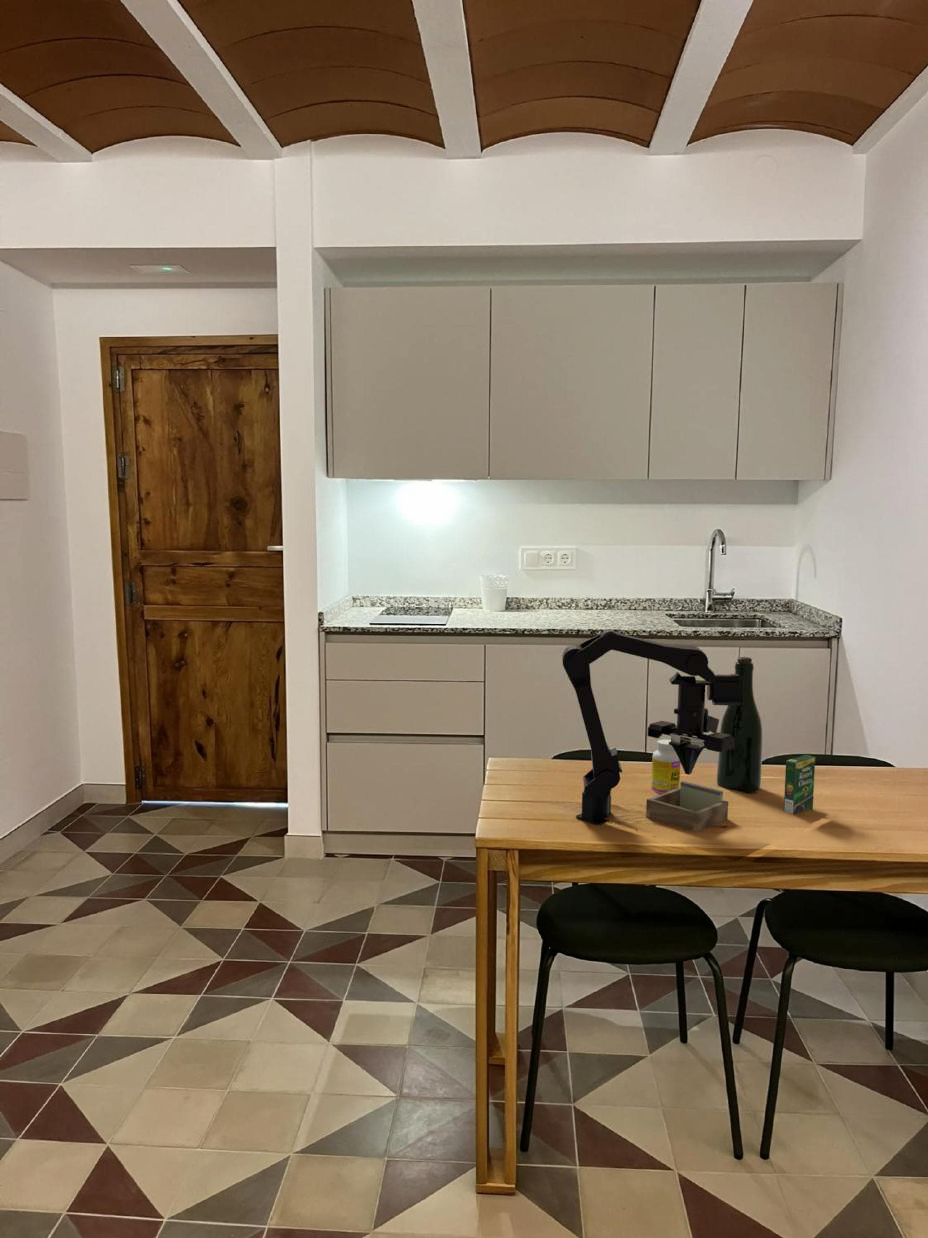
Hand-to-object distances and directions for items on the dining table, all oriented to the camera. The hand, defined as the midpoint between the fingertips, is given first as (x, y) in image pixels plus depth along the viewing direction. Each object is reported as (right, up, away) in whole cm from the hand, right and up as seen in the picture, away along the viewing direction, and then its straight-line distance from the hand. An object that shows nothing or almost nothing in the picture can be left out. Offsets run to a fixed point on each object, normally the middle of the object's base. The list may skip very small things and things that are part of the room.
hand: (688, 774), depth 199 cm
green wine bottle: (+19, -8, +26) cm, 33 cm away
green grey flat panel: (+4, -9, +5) cm, 12 cm away
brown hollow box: (0, -11, +1) cm, 11 cm away
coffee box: (+27, -11, +8) cm, 30 cm away
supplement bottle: (0, -9, +22) cm, 23 cm away
